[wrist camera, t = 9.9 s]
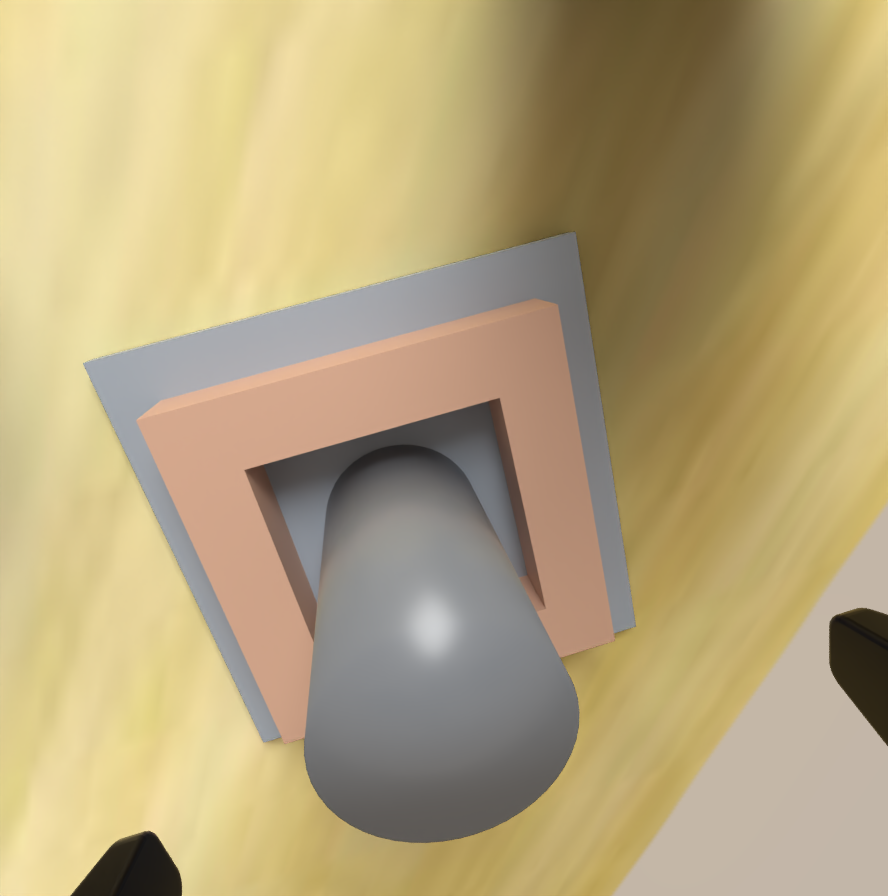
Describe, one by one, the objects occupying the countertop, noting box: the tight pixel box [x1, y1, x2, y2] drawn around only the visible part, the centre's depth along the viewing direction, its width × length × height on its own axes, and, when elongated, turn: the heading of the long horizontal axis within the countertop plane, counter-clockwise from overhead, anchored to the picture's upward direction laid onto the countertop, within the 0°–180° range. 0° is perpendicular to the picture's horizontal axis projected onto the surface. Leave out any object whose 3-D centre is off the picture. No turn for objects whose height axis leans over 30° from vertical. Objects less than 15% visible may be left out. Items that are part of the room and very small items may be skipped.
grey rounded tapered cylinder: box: [304, 445, 579, 843], centre depth 14 cm, size 5×5×9 cm
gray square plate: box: [83, 232, 636, 744], centre depth 18 cm, size 14×14×3 cm
